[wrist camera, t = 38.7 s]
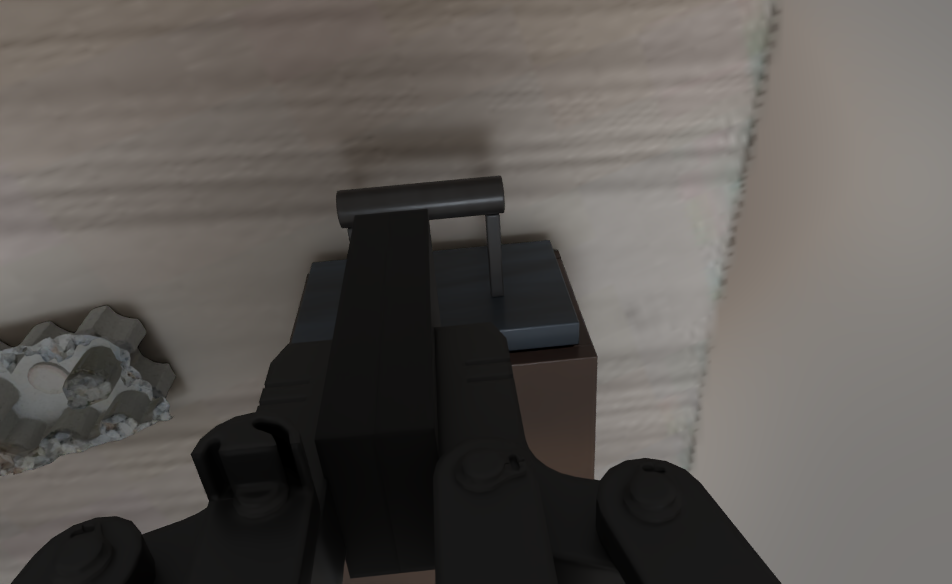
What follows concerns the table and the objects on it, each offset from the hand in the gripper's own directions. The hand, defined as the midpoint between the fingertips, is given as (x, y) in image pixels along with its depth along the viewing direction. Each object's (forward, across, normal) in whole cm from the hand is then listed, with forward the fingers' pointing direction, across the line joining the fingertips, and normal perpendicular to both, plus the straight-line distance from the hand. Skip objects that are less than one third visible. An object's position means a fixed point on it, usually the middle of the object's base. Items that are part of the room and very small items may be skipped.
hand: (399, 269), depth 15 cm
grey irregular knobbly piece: (+21, -21, -16) cm, 33 cm away
